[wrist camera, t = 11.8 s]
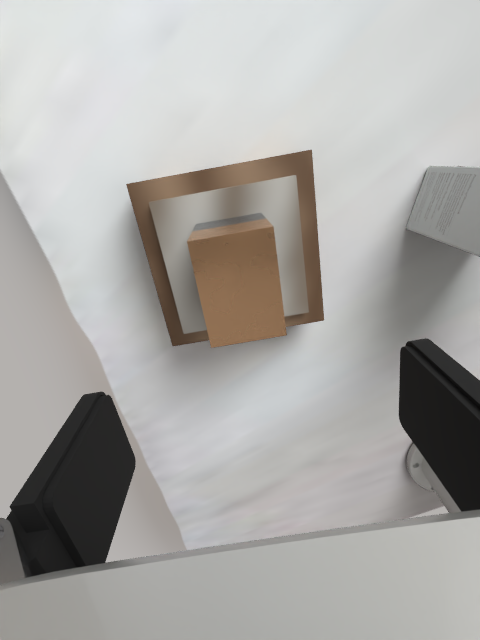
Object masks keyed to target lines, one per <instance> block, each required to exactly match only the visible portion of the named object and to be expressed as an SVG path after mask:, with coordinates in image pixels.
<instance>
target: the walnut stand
mask: <svg viewBox="0 0 480 640" xmlns="http://www.w3.org/2000/svg"><path fill="white" fill-rule="evenodd" d="M126 185H127V188H128V192H129V195H130V199H131V202H132V206H133V209H134V213H135V216H136V220H137V223H138V227H139V230H140V234H141V237H142V241H143V244H144V248H145V251H146V255H147V258H148V262H149V265H150V269H151V272H152V276H153V279H154V283H155V286H156V290H157V293H158V297H159V300H160V304H161V307H162V311H163V314H164V317H165V321H166V324H167V328H168V331H169V335H170V338H171V342H172V345H173V346H177V345H183V344H189V343H195V342H201V341H207V340H209V336H208V332H207V327H206V323H205V319H204V314H203V310H202V305H201V301H200V297H199V292H198V288H197V284H196V279H195V275H194V270H193V266H192V262H191V257H190V253H189V249H188V244H187V241H188V239H189V237H190V235H191V233H192V231H193V229H194V227H195V225H196V224H199V223H205V222H210V221H216V220H221V219H227V218H233V217H238V216H244V215H250V214H255V213H262V214H263V215H264V216H265V217H266V219H267V220H268V221H269V222H270V223H271V224H272V225H273V226H274V234H275V242H276V251H277V259H278V267H279V275H280V284H281V292H282V300H283V309H284V317H285V325H286V327H288V326H294V325H300V324H306V323H312V322H317V321H323V320H324V313H323V299H322V285H321V271H320V257H319V243H318V230H317V216H316V202H315V188H314V174H313V160H312V150H308V151H302V152H297V153H291V154H286V155H281V156H275V157H270V158H265V159H259V160H254V161H248V162H243V163H238V164H232V165H227V166H222V167H216V168H211V169H205V170H200V171H195V172H189V173H184V174H179V175H173V176H168V177H162V178H157V179H152V180H146V181H141V182H136V183H130V184H126Z"/></svg>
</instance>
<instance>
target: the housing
mask: <svg viewBox="0 0 480 640" xmlns="http://www.w3.org/2000/svg"><path fill="white" fill-rule="evenodd" d="M187 244H188V249H189V253H190V257H191V262H192V266H193V270H194V275H195V279H196V284H197V288H198V292H199V297H200V301H201V305H202V310H203V314H204V319H205V323H206V327H207V332H208V336H209V340H210V345H211V348H213V347H219V346H225V345H231V344H237V343H243V342H249V341H255V340H261V339H267V338H273V337H279V336H285V335H287V333H286V325H285V317H284V309H283V300H282V292H281V284H280V275H279V267H278V259H277V251H276V242H275V234H274V226H273V225H272V224H271V223H270V222H269V221H268V220H267V219H266V217H265V216H264V215H263V214H262V213H255V214H250V215H244V216H238V217H233V218H227V219H221V220H216V221H210V222H205V223H199V224H196V225H195V227H194V229H193V231H192V233H191V235H190V237H189V239H188V241H187Z"/></svg>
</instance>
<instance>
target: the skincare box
mask: <svg viewBox="0 0 480 640" xmlns="http://www.w3.org/2000/svg"><path fill="white" fill-rule="evenodd" d="M406 229H407V230H410V231H413V232H416V233H418V234H421V235H424V236H426V237H429V238H431V239H434V240H437V241H439V242H442V243H444V244H447V245H450V246H452V247H455V248H458V249H460V250H463V251H466V252H468V253H471V254H473V255H476V256H479V257H480V167H465V166H429V167H428V169H427V172H426V175H425V177H424V180H423V183H422V185H421V188H420V191H419V194H418V196H417V199H416V202H415V204H414V207H413V210H412V212H411V215H410V218H409V221H408V223H407V226H406Z"/></svg>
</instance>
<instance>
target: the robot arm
mask: <svg viewBox="0 0 480 640" xmlns="http://www.w3.org/2000/svg"><path fill="white" fill-rule="evenodd" d="M399 419H400V423H401V425H402V427H403V428H404V430H405V431H406V433H407V434H408V436H409V437H410V438H411V440H412V441H413V445H412V446H411V448H410V450H409V452H408V455H407V462H406V463H407V469H408V471H409V474H410V475H411V477H412V478H413V480H414V481H415V482H416V483H417V484H418V485H419V486H420V487H422V488H424V489H426V490H429V491H433V492H436V494H437V495H438V497H439V498H440V500H441V501H442V503H443V504H444V506H445V507H446V509H447V510H448V512H449V513H447V514H439V515H431V516H424V517H416V518H409V519H402V520H395V521H387V522H380V523H373V524H366V525H359V526H351V527H344V528H337V529H330V530H323V531H316V532H309V533H302V534H295V535H288V536H281V537H274V538H267V539H261V540H254V541H247V542H240V543H233V544H226V545H219V546H213V547H206V548H199V549H193V550H186V551H180V552H173V553H167V554H160V555H153V556H146V557H140V558H134V559H127V560H120V561H114V562H108V563H105V561H106V558H107V555H108V552H109V549H110V545H111V542H112V539H113V536H114V533H115V530H116V526H117V523H118V520H119V517H120V514H121V511H122V507H123V504H124V501H125V498H126V495H127V492H128V489H129V485H130V482H131V479H132V476H133V472H134V470H135V456H134V454H133V451H132V448H131V446H130V444H129V441H128V438H127V436H126V433H125V431H124V428H123V426H122V423H121V420H120V418H119V415H118V413H117V411H116V408H115V405H114V403H113V400H112V398H111V397H110V396H109V395H105V393H104V392H97V393H91V394H85V395H83V396H82V397H81V399H80V401H79V402H78V403H77V405H76V406H75V408H74V410H73V411H72V413H71V414H70V416H69V417H68V419H67V420H66V422H65V423H64V425H63V426H62V428H61V429H60V431H59V432H58V434H57V435H56V437H55V438H54V440H53V442H52V443H51V445H50V446H49V447H48V449H47V451H46V452H45V454H44V455H43V457H42V458H41V460H40V461H39V463H38V464H37V466H36V467H35V469H34V471H33V472H32V474H31V475H30V476H29V478H28V479H27V481H26V482H25V484H24V486H23V487H22V489H21V490H20V492H19V493H18V495H17V496H16V498H15V499H14V501H13V502H12V504H11V505H10V508H11V510H12V511H11V512H10V514H9V516H8V517H7V519H4V518H0V640H480V380H478V379H477V378H476V377H475V376H473V375H472V374H471V373H470V372H469V371H467V370H466V369H465V368H464V367H462V366H461V365H460V364H459V363H457V362H456V361H455V360H454V359H453V358H451V357H450V356H449V355H448V354H446V353H445V352H444V351H443V350H442V349H440V348H439V347H438V346H437V345H435V344H434V343H433V342H432V341H431V340H429V339H420V340H414V341H408V342H407V343H406V346H405V347H402V348H401V352H400V391H399Z"/></svg>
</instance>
